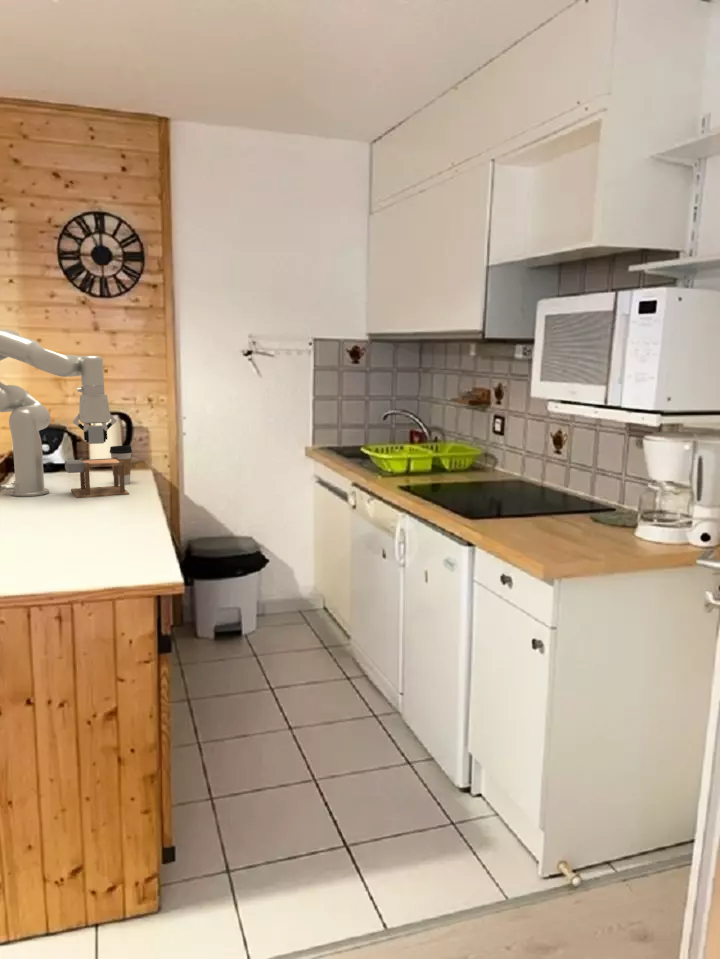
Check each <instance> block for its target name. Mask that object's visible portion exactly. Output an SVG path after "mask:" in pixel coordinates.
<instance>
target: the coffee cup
mask: <svg viewBox="0 0 720 959" xmlns="http://www.w3.org/2000/svg"><path fill="white" fill-rule="evenodd" d="M109 453H110V457H111V458H113V457H117V460H118V461H124V483H125V485H129V484H131V469H132V453H133V450H132V445H130V444H127V445H126V444H125V445H112V446H110V448H109ZM111 469H112V471H113V466H111ZM112 476H113V477H114V473H113V472H112ZM118 486H120V474H119V466H118Z"/></svg>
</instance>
